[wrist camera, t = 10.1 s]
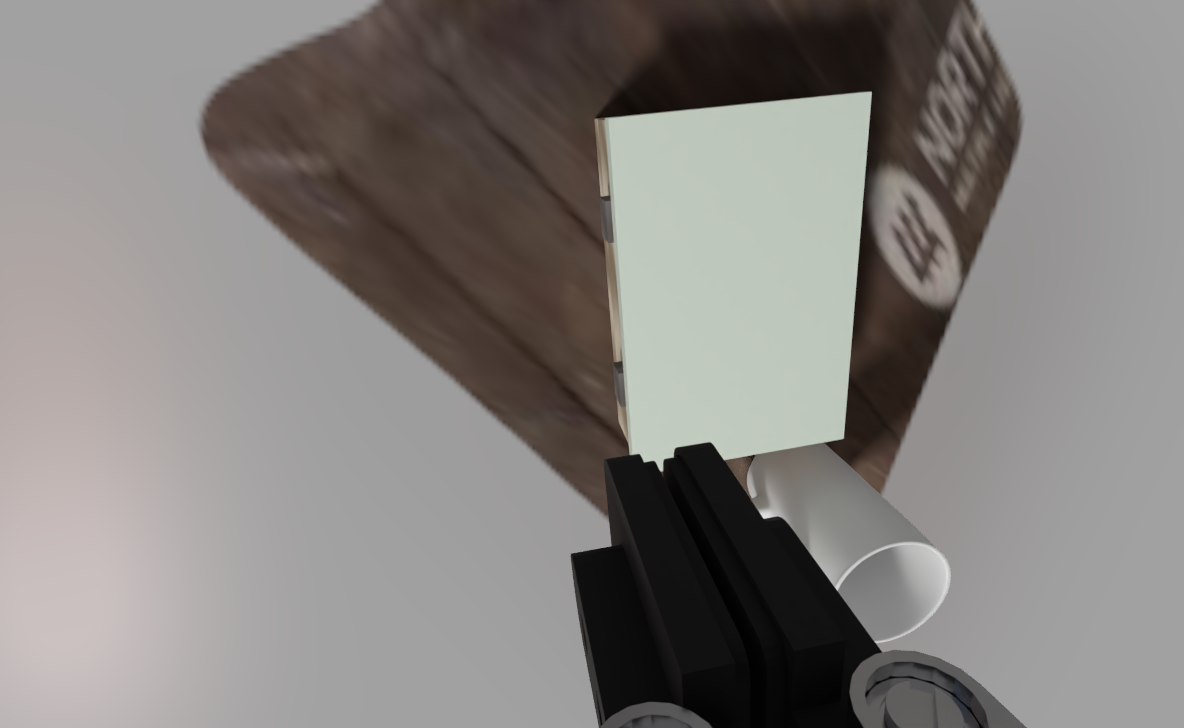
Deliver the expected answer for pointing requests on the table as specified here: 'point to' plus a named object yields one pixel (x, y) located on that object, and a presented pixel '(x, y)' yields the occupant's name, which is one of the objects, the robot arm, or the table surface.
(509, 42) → the table surface
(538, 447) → the table surface
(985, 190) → the table surface
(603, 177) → the beige box
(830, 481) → the mug
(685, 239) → the lid
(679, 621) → the robot arm
